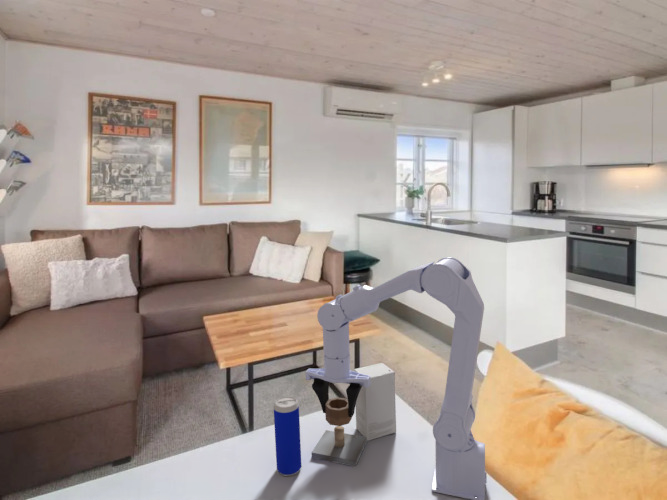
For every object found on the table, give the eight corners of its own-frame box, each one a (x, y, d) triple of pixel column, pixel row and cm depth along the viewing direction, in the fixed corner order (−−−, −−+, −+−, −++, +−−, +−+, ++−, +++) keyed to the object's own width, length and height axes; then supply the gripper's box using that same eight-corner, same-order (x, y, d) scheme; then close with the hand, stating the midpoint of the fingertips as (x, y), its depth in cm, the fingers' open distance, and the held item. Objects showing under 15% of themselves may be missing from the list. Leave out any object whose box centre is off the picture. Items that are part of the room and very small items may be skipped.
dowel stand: (366, 441, 93) (366, 421, 92) (355, 466, 85) (354, 444, 84) (326, 434, 96) (325, 415, 96) (311, 457, 88) (310, 436, 87)
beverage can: (302, 460, 87) (299, 395, 85) (301, 476, 82) (297, 407, 80) (278, 462, 87) (274, 396, 85) (275, 478, 82) (271, 408, 80)
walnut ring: (353, 414, 91) (353, 399, 91) (346, 427, 86) (346, 411, 86) (331, 411, 93) (331, 396, 93) (323, 423, 88) (322, 407, 88)
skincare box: (384, 420, 102) (383, 361, 100) (397, 434, 96) (397, 371, 94) (354, 428, 99) (352, 367, 97) (366, 442, 93) (364, 378, 91)
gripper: (373, 350, 89) (374, 408, 91) (313, 345, 94) (315, 399, 96) (365, 363, 83) (366, 425, 84) (300, 356, 88) (303, 414, 89)
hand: (338, 412), depth 90 cm, fingers closed on walnut ring, 5 cm apart
